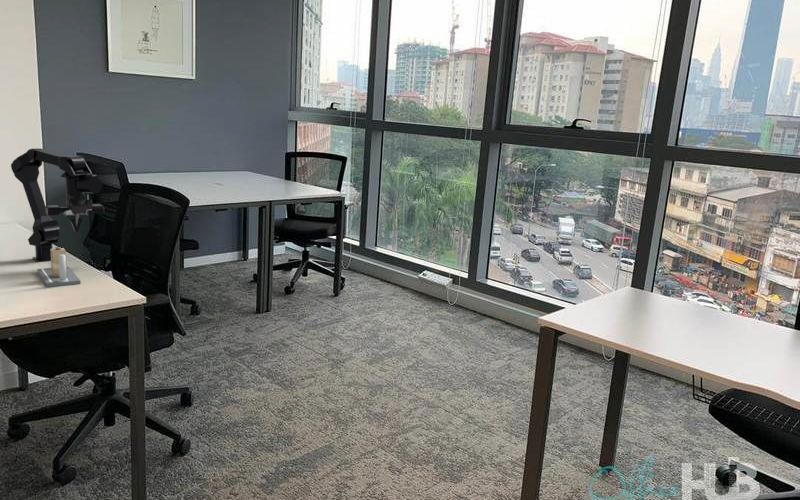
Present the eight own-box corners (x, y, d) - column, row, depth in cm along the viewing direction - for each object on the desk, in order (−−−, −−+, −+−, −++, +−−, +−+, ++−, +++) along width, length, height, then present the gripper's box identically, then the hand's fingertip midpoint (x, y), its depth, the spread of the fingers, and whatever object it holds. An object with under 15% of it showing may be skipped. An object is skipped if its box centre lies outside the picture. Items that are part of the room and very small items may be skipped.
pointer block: (51, 274, 211) (50, 246, 209) (64, 272, 214) (63, 245, 212) (53, 276, 208) (52, 249, 206) (66, 275, 211) (65, 248, 208)
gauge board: (37, 272, 217) (35, 244, 215) (68, 269, 223) (67, 242, 221) (47, 287, 202) (45, 257, 200) (80, 283, 208) (79, 255, 206)
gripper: (49, 194, 210) (51, 238, 214) (107, 193, 222) (109, 235, 225) (44, 189, 218) (46, 232, 222) (100, 189, 230) (101, 229, 233)
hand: (76, 232), depth 225 cm, fingers closed
